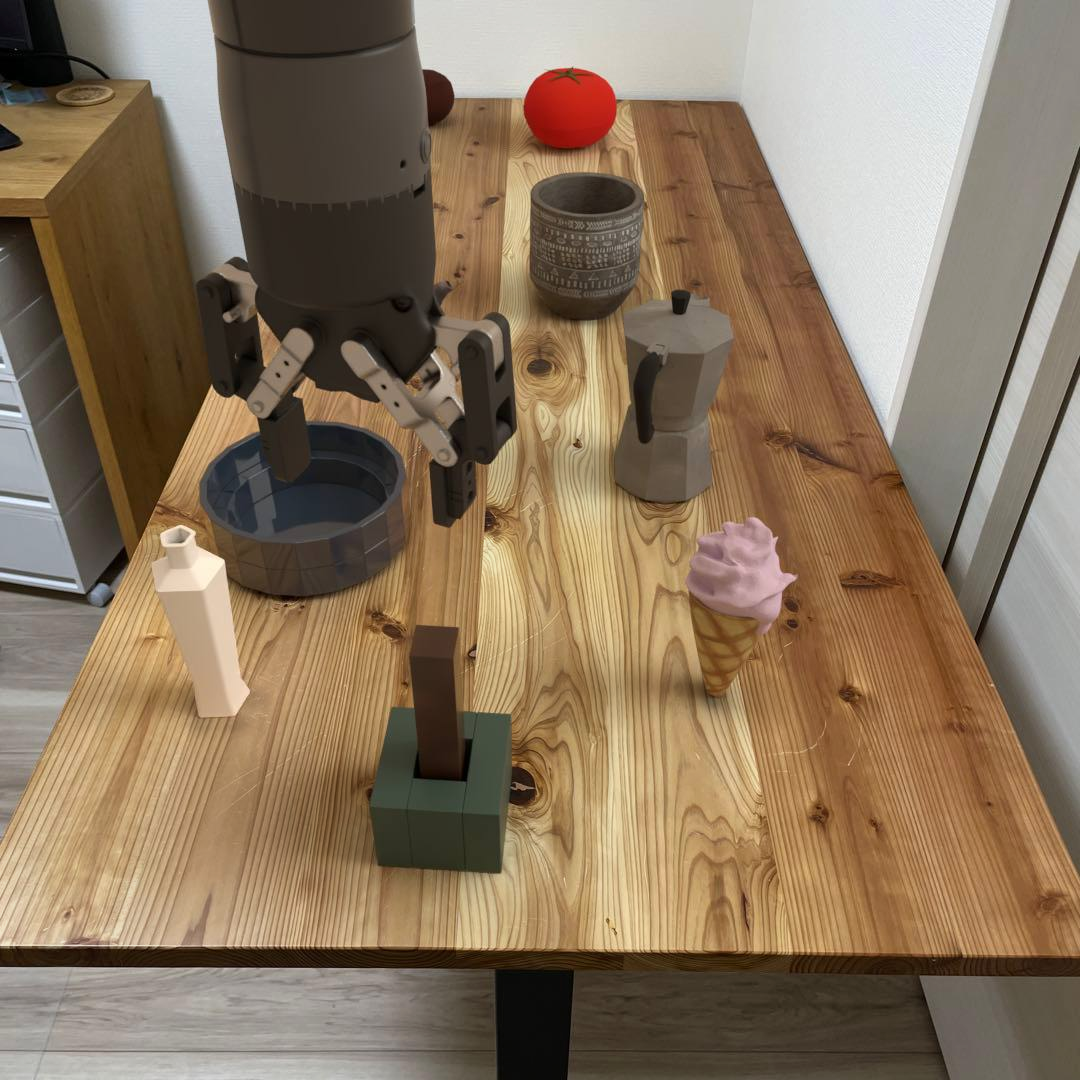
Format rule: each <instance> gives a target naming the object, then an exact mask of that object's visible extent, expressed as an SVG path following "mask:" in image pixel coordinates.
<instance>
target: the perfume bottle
mask: <svg viewBox="0 0 1080 1080" xmlns="http://www.w3.org/2000/svg"><path fill="white" fill-rule="evenodd" d="M196 534H197V532H196V531H195V530H194V529H192V528H189V527H187V526H186V525H183V524H179V525H176V526H173V527H171V528H169V529H165V530H164V531H161V533H159V536H160V537H159V538H160V542H161V546H162V547H163V548H164V549H165V554H166V555H165V556H163V557H161V558H159V559H157V560H154V561H152V562H151V571H152V578H153V582H154V588H155V589H154V590H155V591H156V594H157V597H158V599H159V601H160V604H161V607H162V609H163V611H164V615H165V616H166V619H167V621H168V624H169V627H170V629H171V631H172V634H173V637H174V639H175V642H176V644H177V646H178V650H179V652H180V655H181V657H182V659H183V662H184V664H185V667H186V670H187V672H188V675H189V677H190V679H191V682H192V685H193V687H194V700H195V704H196V709H197V710H196V711H197V714H198V717H199V718H202V719H204V718H231V717H235V716H236V715H237V714H238V713H239V711H240V710H241V708H242V706H243V704H244V703H245V701H246V699H247V698H248V697H249V695H250V693H251V690H250V688H249V687H248V685H247V684H246V683H245V681H244V680H243V678H242V677H241V669H240V662H239V655H238V649H237V648H238V647H237V642H236V633H235V627H234V618H233V612H232V606H231V604H232V603H231V597H230V591H229V584H228V583H229V582H228V575H227V574H226V568H225V561H224V560H223V559H222V558H220V557H218V556H216V555H214V554H212V552H210V551H207V550H205V548H202V547H200V546H198V545H197V542H196V538H195V536H196Z"/></svg>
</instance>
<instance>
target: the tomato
mask: <svg viewBox="0 0 1080 1080" xmlns="http://www.w3.org/2000/svg"><path fill="white" fill-rule="evenodd" d="M543 70H544V71H545V72H543V73H541V74H540V75H539V76H537V77H536V78H535V79H534V80H533V81H532V83H531V84H530V86H529V88H528V89H527V91H526V94H525V96H524V101H523V105H522V109H523V117H524V119H525V123H526V124H527V127H528V128H529V130H530V132H531V133H532V135H533V136H534V137H535V138H536V140H537V141H539V142H541V143H543V144H545V145H546V146H549V147H552V148H556V149H557V148H558V149H575V148H585V147H588V146H589V147H590V146H592V145H594V144H596V143H598V142H599V141H601V140H602V139H603V138H604V137H605V136H606V135H607V134H609V132H610V130H611V129H612V127H613V126H614V124H615V122H616V118H617V113H618V105H617V103H618V102H617V99H616V94H615V92H614V89H613V87H612V86H611V85H610V83H609V82H608V81H607V80H606V79H605V78H603V77H602V76H601V75H599V74H597V73H595V72H593V71H590V70H587V69H583V68H578V67H574V66H572V67H563V68H553V69H547V70H546V69H545V68H543Z"/></svg>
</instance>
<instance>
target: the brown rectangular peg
mask: <svg viewBox="0 0 1080 1080" xmlns="http://www.w3.org/2000/svg"><path fill="white" fill-rule="evenodd" d="M413 631H414V632H413V635H412V641H411V644H410V650H409V654H408V660H409V661H408V662H409V670H410V680H411V681H410V682H411V690H412V691H411V692H412V701H413V708H414V713H415V723H416V733H417V743H418V753H419V763H420V774H421V779H429V780H445V781H461V782H467V768H466V749H465V730H464V712H463V711H464V699H463V698H464V695H463V675H462V659H461V641H460V627H459V626H447V625H446V626H442V625H429V624H428V625H426V624H416V625H415V627H414V630H413Z"/></svg>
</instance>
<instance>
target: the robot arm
mask: <svg viewBox="0 0 1080 1080" xmlns="http://www.w3.org/2000/svg"><path fill="white" fill-rule="evenodd" d="M207 4H208V11H209V16H210V22H211V28H212V33H213V41H214V48H215V55H216V56H215V57H216V79H217V81H216V82H217V83H216V84H217V93H218V94H217V95H218V96H217V98H218V105H219V113H220V119H221V125H222V130H223V137H224V141H225V147H226V153H227V159H228V163H229V164H228V165H229V168H230V174H231V180H232V184H233V191H234V196H235V202H236V207H237V213H238V218H239V223H240V229H241V234H242V240H243V246H244V252H245V258H246V259H244V258H243V257H240V256H233V257H231V258H229V259H228V260H227V261H225V262H224V263H222V264H221V265H220V266H218V267H217V268H215V269H214V270H212V271H210V272H209V273H208V274H206V275H205V276H204V277H202V278H201V279H199V280H198V281H197V282H196V284H195V292H196V296H197V304H198V310H199V316H200V322H201V328H202V334H203V339H204V340H203V341H204V345H205V352H206V358H207V364H208V369H209V370H208V371H209V375H210V381H211V386H212V388H213V390H214V392H215V393H217V394H218V395H219V396H221V397H222V398H225V399H230V398H232V397H234V396H236V397H238V398H239V399H242V400H243V401H244V402H246V406H247V408H248V410H249V411H250V413H251V414H252V415H253V416H255V417H256V420H257V426H258V431H260V436H261V439H262V446H263V451H264V456H265V459H266V460H267V462H268V464H269V466H270V467H273V471H274V476H275V478H276V479H278V480H282V481H285V482H289V483H291V482H293V481H294V480H295V479H296V478H297V477H298V476H299V475H300V474H301V473H302V472H303V471H304V470H305V469H306V468H307V467H308V466H309V464H310V461H311V450H310V444H309V437H308V431H307V425H306V421H307V420H306V413H305V407H304V401H303V398H302V397H297V396H295V395H294V394H295V393H296V392H297V391H298V389H299V388H300V387H301V386H302V384H303V383H304V382H305V380H306V378H308V379H309V380H311V381H312V382H314V385H315V389H318V390H322V391H327V392H331V393H335V392H336V393H337V392H338V393H339V392H341V393H342V392H344V393H345V392H346V393H348V394H350V395H352V396H354V397H356V398H358V399H360V400H362V401H366V402H370V403H375V404H379V403H380V402H381V403H382V405H383V406H384V407H385V409H386V410H387V412H388V413H389V414H390V415H391V417H392V418H393V419H394V421H395V422H396V423H397V425H398V426H399V427H400V428H402V429H404V430H411V431H413V433H414V434H415V435H416V437H417V438H418V439H419V441H420V442H421V444H422V445H423V446H424V447H425V448H426V450H427V452H428V453H429V454H430V456H431V457H432V459H430V461H429V462H428V470H429V483H430V484H429V485H430V498H431V499H430V500H431V510H432V511H431V512H432V522H433V524H434V525H437V526H440V527H444V528H447V529H449V528H451V527H453V525H454V524H455V522H456V521H457V520H461V519H462V518H463V516H464V515H465V514H466V513H467V511H468V510H469V508H471V506H472V505H473V503H474V501H475V500H476V497H477V496H478V490H477V489H478V488H477V465H476V463H477V464H479V465H483V466H488V465H490V464H492V463H493V462H494V461H495V459H496V458H497V457H498V455H499V453H500V451H501V450H502V449H503V447H504V446H505V445H506V443H508V441H509V440H510V439H512V438H513V436H514V435H515V433H516V432H517V430H518V419H517V418H518V417H517V404H516V392H515V391H516V390H515V389H516V388H515V380H514V379H515V378H514V366H513V365H514V364H513V352H512V351H513V349H512V336H511V325H510V322H509V320H508V319H507V317H506V316H504V315H503V314H502V313H500V312H497V311H490V312H487V313H486V314H485V315H484V316H483V317H482V319H481V320H472V319H466V318H460V317H459V318H458V317H453V316H446V314H445V312H444V310H443V308H442V306H441V307H440V305H439V303H438V301H437V298H436V295H435V292H434V285H435V275H436V267H437V266H436V265H437V247H436V231H435V229H436V228H435V215H434V199H433V198H434V197H433V182H432V181H433V180H432V164H431V163H432V162H431V154H432V136H431V132H430V129H429V124H428V111H427V98H426V88H425V82H424V76H423V71H422V69H423V67H422V62H421V56H420V51H419V46H418V45H419V44H418V39H417V29H416V26H415V24H416V14H415V13H416V12H415V0H207ZM259 317H260V318H261V319H262V321H263V322H264V323H265V324H266V326H267V327H268V329H269V330H270V331H271V333H272V334H273V335H274V336H275V338H276V340H278V342H279V343H280V346H279V348H278V349H277V351H276V352H275V354H274V355H273V357H272V358H271V359H270V361H269V363H268V364H267V365H266V366H265V365H264V356H263V355H264V354H263V348H262V340H261V332H260V325H259V324H260V323H259ZM437 348H440V349H442V350H443V351H444V352H445V353H446V354H447V356H448V358H449V360H450V364H451V366H450V368H449V367H448V365H447V364H446V362H445V361H444V360H443V358H442V357H441V356H440V355H439V353H438V351H437V350H436V349H437ZM416 374H417V375H418V376H419V378H420V380H421V384H422V387H421V390H420V391H419V392H418V393H417V394H416V395H414V394H413V392H411V391H410V389H409V388H408V386H407V385H408V383H409V382H410V381H411V380H412V379H413V378H414V376H415V375H416ZM456 377H460V385H461V394H462V397H461V396H460V395H459V393H458V392H457V385H458V384H457V379H456ZM438 415H439V416H438ZM439 417H440V418H439ZM441 419H442V420H441ZM442 421H443V422H444V423H443V422H442ZM444 424H445V425H446V426H447V427H446V426H445V425H444Z"/></svg>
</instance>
